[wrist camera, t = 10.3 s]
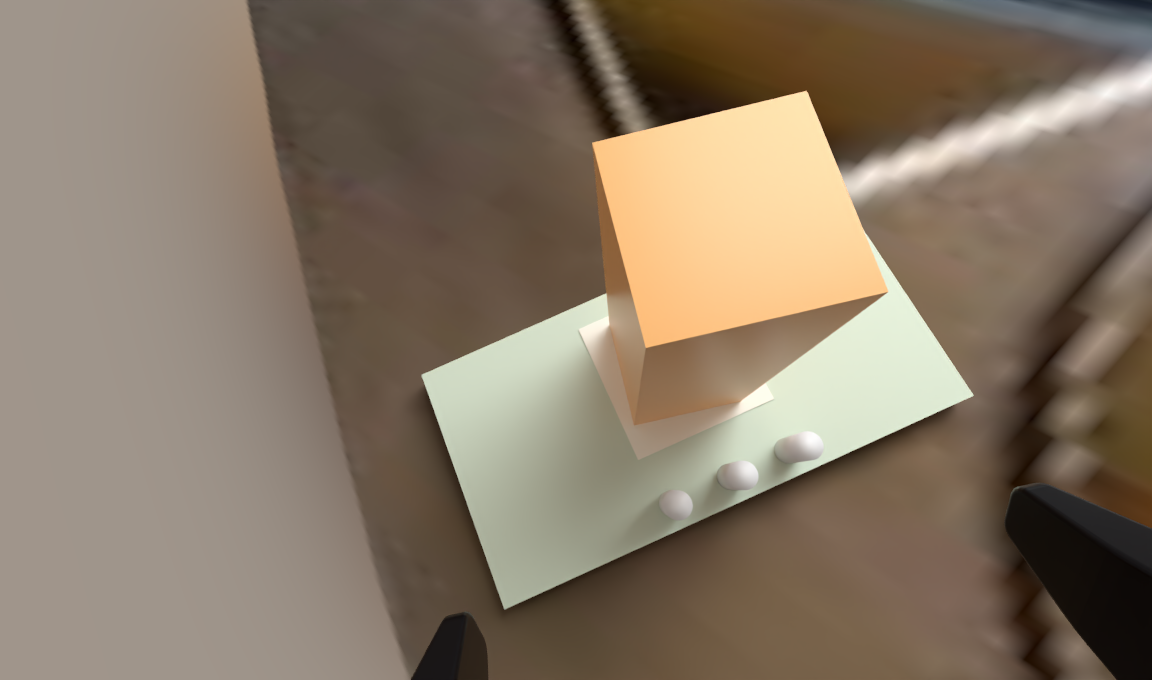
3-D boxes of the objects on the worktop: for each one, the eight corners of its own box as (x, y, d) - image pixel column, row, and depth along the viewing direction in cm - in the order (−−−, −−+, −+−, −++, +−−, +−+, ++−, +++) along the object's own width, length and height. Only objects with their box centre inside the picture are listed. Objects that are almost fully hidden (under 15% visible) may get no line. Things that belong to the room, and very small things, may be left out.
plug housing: (740, 401, 22) (888, 292, 9) (634, 425, 22) (645, 347, 10) (710, 301, 23) (806, 90, 11) (609, 324, 23) (592, 143, 11)
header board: (955, 400, 22) (1018, 383, 18) (510, 603, 21) (488, 625, 18) (827, 205, 25) (861, 158, 21) (431, 380, 24) (397, 361, 21)
